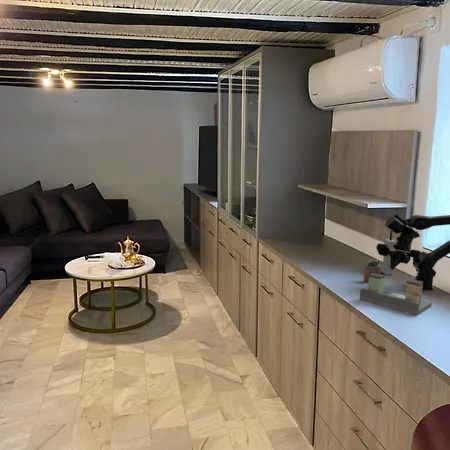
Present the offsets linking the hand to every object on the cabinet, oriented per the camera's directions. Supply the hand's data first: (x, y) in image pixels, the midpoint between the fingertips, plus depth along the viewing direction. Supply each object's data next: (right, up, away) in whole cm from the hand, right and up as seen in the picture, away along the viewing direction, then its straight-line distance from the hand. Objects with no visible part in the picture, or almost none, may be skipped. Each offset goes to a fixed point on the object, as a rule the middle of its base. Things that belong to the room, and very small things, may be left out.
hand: (391, 268), depth 196 cm
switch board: (-2, -13, -11) cm, 17 cm away
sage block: (-10, -10, -9) cm, 17 cm away
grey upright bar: (+9, -6, +32) cm, 34 cm away
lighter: (-3, -8, +17) cm, 19 cm away
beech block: (+2, -12, -16) cm, 20 cm away
